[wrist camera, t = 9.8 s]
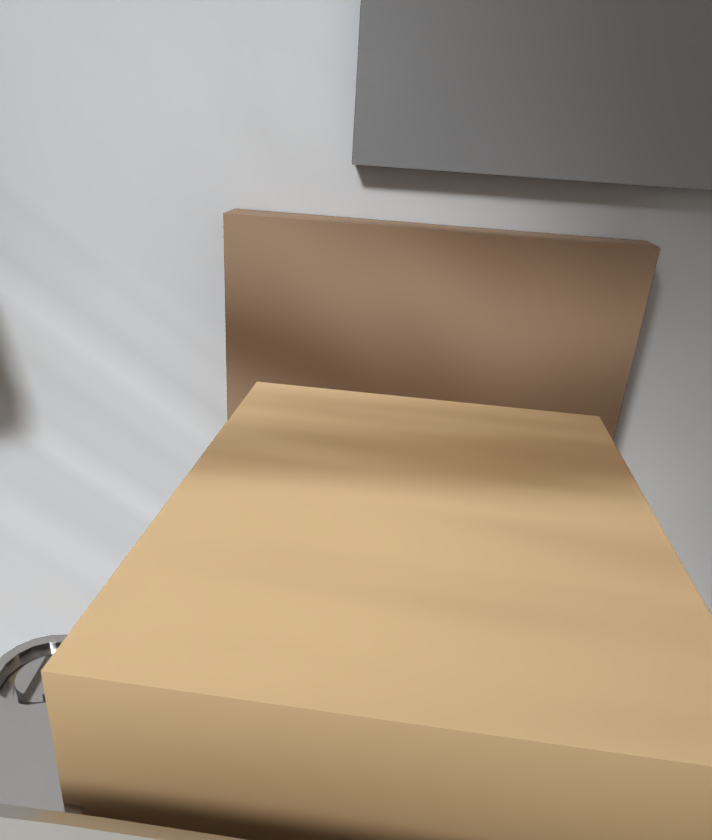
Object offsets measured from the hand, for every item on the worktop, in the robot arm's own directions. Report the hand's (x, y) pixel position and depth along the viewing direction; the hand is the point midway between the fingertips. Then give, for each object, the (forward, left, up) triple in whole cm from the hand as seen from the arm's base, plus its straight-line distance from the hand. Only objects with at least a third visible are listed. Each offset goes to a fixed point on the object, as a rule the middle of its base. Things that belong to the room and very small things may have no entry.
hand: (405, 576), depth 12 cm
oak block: (0, 0, -1) cm, 1 cm away
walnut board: (0, 0, -10) cm, 10 cm away
